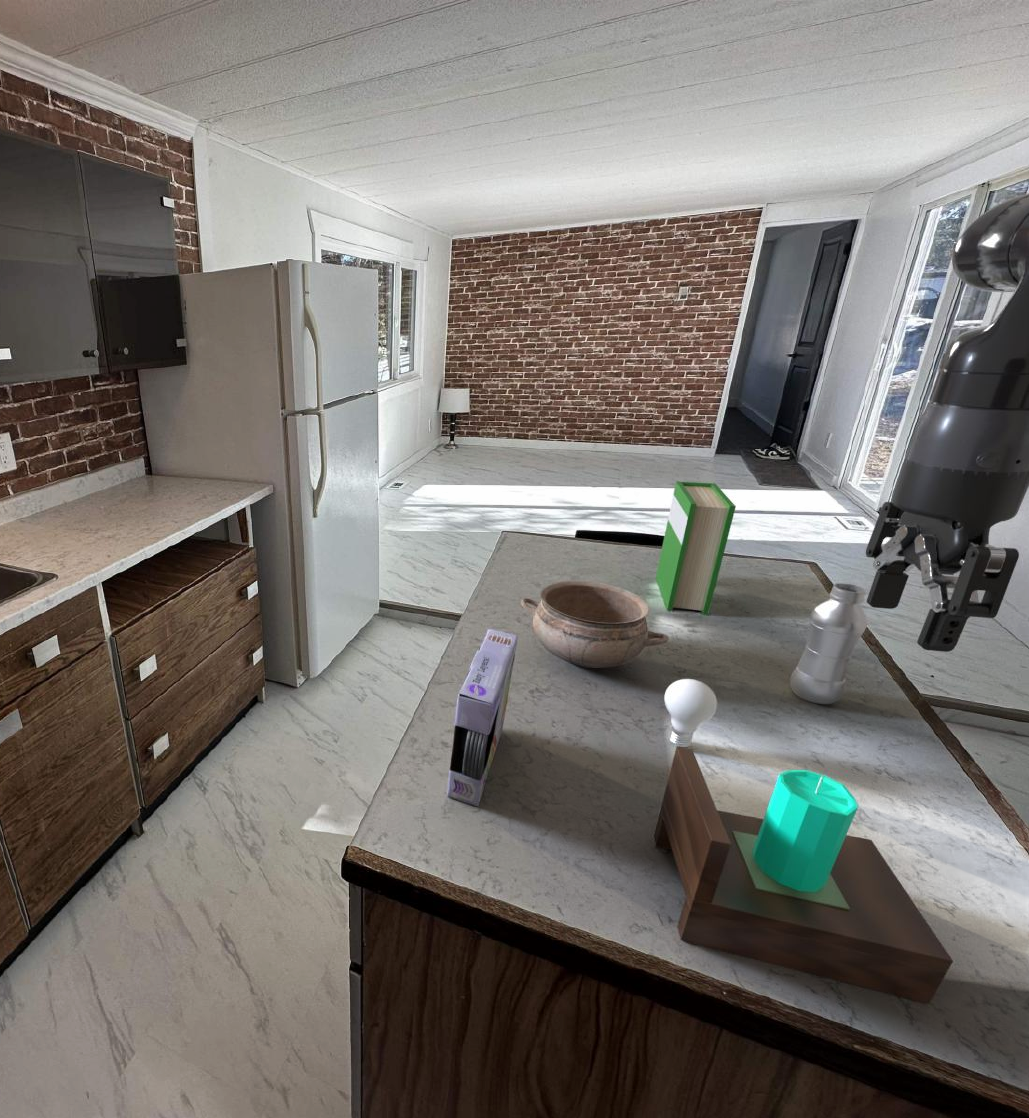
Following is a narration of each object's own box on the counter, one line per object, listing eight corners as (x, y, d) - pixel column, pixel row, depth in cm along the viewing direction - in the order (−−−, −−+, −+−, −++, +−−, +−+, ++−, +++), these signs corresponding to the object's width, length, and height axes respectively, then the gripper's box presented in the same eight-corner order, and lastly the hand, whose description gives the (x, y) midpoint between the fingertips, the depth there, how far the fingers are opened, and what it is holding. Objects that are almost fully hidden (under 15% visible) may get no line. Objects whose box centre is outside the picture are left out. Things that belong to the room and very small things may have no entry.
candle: (762, 881, 61) (795, 791, 56) (744, 837, 66) (774, 750, 61) (836, 899, 59) (876, 807, 54) (811, 852, 64) (847, 763, 59)
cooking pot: (497, 658, 113) (503, 600, 108) (534, 620, 126) (541, 567, 121) (645, 707, 97) (660, 642, 93) (670, 658, 110) (684, 599, 106)
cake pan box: (479, 815, 78) (492, 703, 72) (442, 802, 81) (450, 693, 74) (506, 730, 94) (519, 632, 87) (474, 721, 96) (483, 625, 89)
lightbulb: (652, 726, 93) (667, 666, 89) (701, 737, 90) (718, 675, 86) (656, 752, 88) (671, 689, 84) (707, 763, 85) (725, 699, 81)
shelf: (854, 878, 67) (896, 782, 62) (929, 1004, 55) (990, 898, 50) (653, 836, 74) (676, 746, 69) (680, 940, 62) (711, 840, 57)
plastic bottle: (842, 714, 94) (885, 600, 86) (787, 701, 97) (824, 591, 90) (835, 693, 99) (875, 584, 91) (783, 682, 102) (818, 576, 95)
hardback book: (707, 615, 125) (735, 506, 116) (667, 610, 128) (691, 503, 119) (691, 582, 140) (715, 483, 131) (655, 578, 142) (676, 481, 133)
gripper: (1104, 480, 43) (1014, 672, 49) (969, 441, 55) (911, 597, 61) (967, 478, 45) (898, 660, 51) (868, 441, 58) (821, 591, 64)
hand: (905, 626), depth 56 cm, fingers open, 8 cm apart
